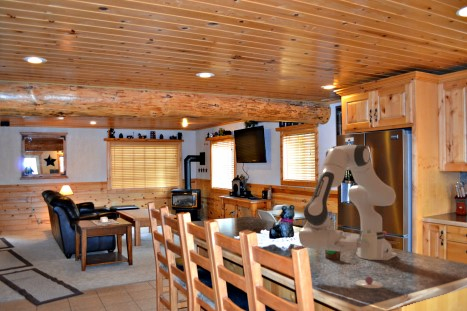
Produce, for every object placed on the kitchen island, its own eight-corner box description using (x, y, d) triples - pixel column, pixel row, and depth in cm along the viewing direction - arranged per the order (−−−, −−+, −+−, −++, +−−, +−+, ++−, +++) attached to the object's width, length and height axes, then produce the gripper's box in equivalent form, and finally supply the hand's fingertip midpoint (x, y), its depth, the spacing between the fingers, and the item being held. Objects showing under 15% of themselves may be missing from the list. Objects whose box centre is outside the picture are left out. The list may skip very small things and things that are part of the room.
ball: (367, 282, 172) (367, 275, 172) (374, 284, 170) (374, 276, 170) (363, 283, 170) (363, 276, 170) (370, 285, 168) (370, 278, 168)
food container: (318, 256, 221) (318, 238, 222) (328, 255, 224) (328, 237, 224) (331, 261, 210) (331, 242, 210) (341, 260, 212) (341, 241, 212)
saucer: (365, 280, 178) (365, 278, 178) (388, 286, 169) (388, 284, 169) (349, 285, 171) (349, 283, 171) (373, 291, 162) (373, 289, 162)
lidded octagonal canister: (366, 254, 175) (367, 228, 175) (379, 257, 170) (379, 230, 170) (358, 256, 171) (358, 229, 171) (371, 259, 166) (371, 231, 167)
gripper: (332, 237, 166) (368, 240, 161) (339, 229, 185) (371, 232, 180) (332, 252, 166) (368, 256, 161) (339, 243, 185) (371, 246, 180)
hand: (370, 243), depth 171 cm, fingers closed on lidded octagonal canister, 6 cm apart
